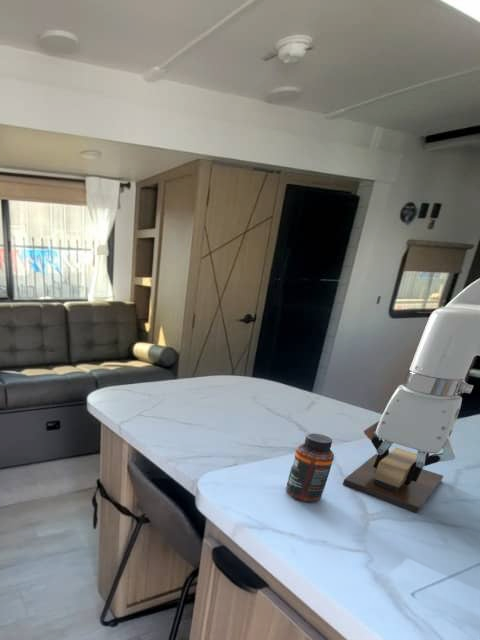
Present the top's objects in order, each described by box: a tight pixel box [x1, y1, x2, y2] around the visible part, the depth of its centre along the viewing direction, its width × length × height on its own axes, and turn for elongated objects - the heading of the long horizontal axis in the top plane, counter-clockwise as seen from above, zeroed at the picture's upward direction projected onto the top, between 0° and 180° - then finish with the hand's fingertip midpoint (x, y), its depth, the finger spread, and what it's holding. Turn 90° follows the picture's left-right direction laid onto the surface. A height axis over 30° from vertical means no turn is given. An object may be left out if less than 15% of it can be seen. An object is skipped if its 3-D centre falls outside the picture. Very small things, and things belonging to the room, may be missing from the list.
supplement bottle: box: [285, 432, 335, 503], centre depth 71 cm, size 6×6×11 cm
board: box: [342, 453, 444, 514], centre depth 79 cm, size 18×12×1 cm, turn 131°
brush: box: [373, 447, 417, 492], centre depth 76 cm, size 10×4×5 cm, turn 131°
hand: (393, 476), depth 77 cm, fingers closed on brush, 4 cm apart
